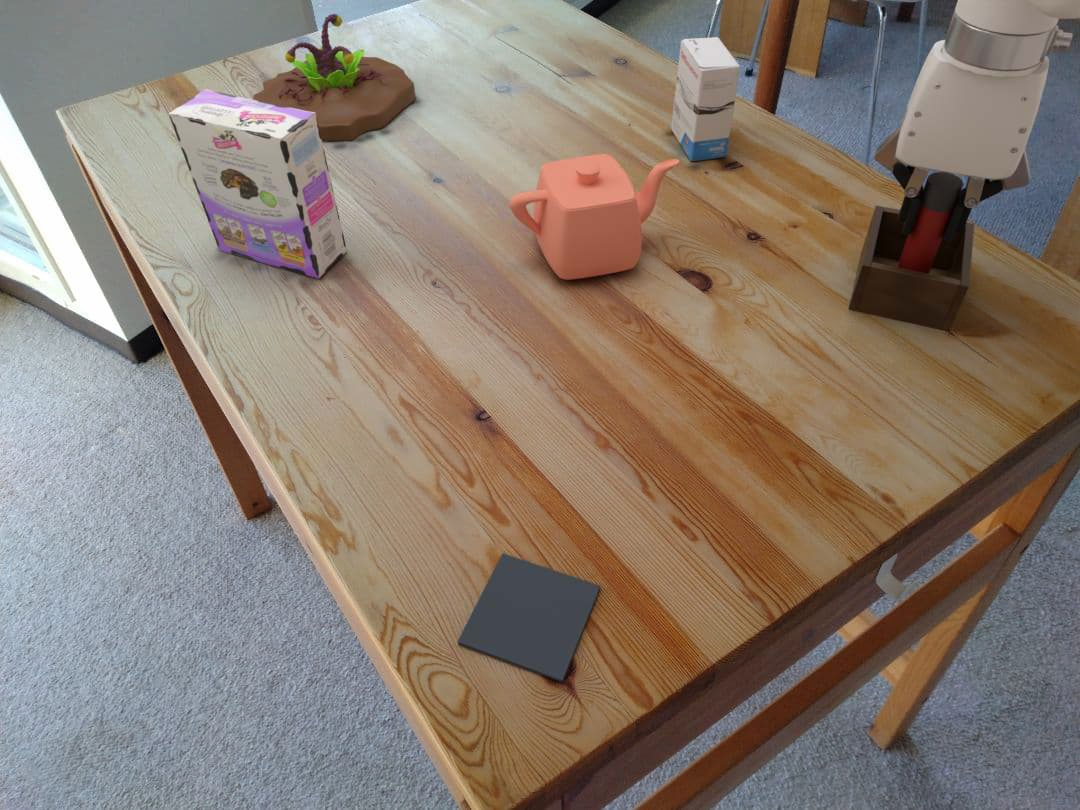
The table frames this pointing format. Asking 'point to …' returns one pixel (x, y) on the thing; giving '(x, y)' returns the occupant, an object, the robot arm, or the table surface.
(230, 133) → the candy box
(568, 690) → the table surface
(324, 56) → the plant
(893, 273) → the wooden box
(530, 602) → the desk pad
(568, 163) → the teapot
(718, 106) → the ink box
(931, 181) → the marker pen
